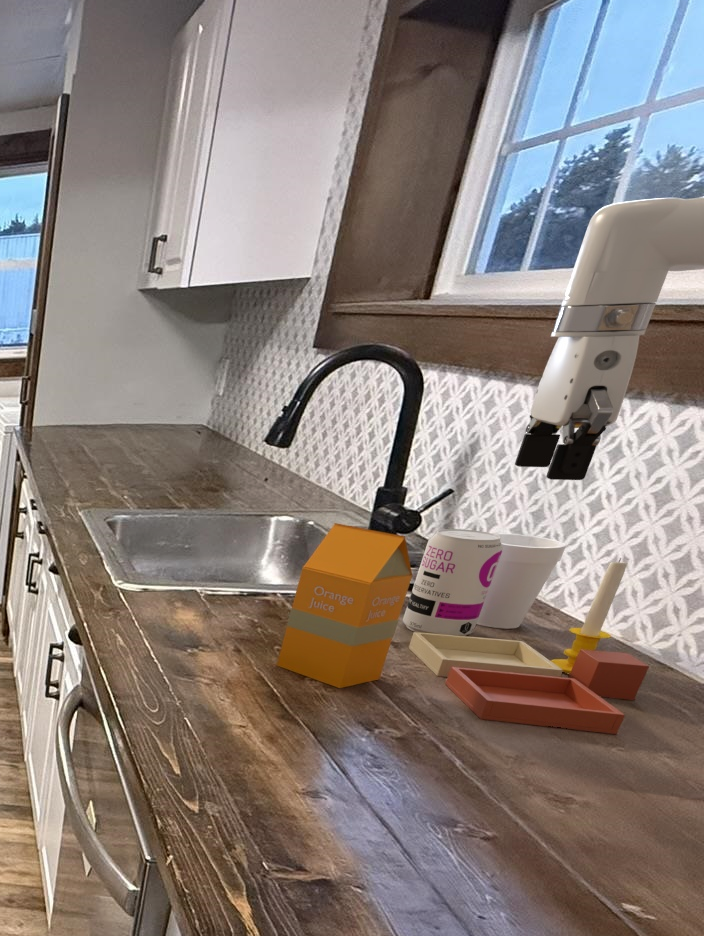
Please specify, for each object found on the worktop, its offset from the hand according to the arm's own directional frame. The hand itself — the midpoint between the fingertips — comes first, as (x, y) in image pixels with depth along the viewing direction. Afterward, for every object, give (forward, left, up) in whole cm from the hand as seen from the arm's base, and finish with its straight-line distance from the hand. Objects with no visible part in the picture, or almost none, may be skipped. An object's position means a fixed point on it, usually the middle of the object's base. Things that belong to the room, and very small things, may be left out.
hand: (547, 472), depth 101 cm
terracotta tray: (-1, +11, -27) cm, 29 cm away
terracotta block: (-12, +2, -27) cm, 29 cm away
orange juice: (+18, +6, -27) cm, 33 cm away
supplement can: (-1, -18, -27) cm, 33 cm away
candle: (-12, -5, -27) cm, 30 cm away
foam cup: (-10, -25, -27) cm, 38 cm away
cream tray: (-1, -3, -27) cm, 27 cm away
